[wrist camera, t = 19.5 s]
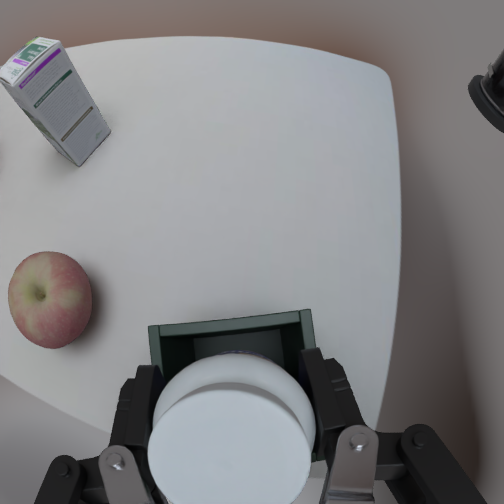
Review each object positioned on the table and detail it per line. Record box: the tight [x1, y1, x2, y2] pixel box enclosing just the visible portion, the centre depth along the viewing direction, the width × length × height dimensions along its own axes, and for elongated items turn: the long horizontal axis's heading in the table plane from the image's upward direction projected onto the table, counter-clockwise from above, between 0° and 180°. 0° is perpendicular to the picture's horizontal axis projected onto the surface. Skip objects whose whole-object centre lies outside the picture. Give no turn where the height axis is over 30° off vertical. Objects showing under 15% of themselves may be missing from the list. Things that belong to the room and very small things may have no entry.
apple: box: [8, 252, 92, 349], centre depth 21 cm, size 8×8×8 cm
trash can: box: [148, 309, 326, 463], centre depth 19 cm, size 8×8×11 cm
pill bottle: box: [148, 350, 316, 504], centre depth 10 cm, size 5×5×10 cm
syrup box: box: [0, 37, 111, 166], centre depth 23 cm, size 6×6×14 cm
